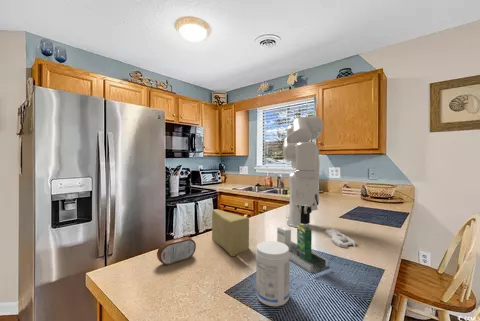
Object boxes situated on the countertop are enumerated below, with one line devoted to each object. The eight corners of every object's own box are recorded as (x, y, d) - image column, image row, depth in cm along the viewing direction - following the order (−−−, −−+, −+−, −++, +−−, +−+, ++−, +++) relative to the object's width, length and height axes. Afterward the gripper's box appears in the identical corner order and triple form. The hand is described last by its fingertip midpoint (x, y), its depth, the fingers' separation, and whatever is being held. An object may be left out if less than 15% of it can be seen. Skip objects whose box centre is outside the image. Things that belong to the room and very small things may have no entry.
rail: (309, 275, 75) (309, 265, 75) (270, 251, 94) (270, 243, 94) (328, 268, 80) (328, 259, 80) (287, 246, 99) (288, 238, 99)
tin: (193, 254, 91) (193, 234, 90) (197, 257, 88) (197, 236, 88) (156, 265, 81) (156, 242, 81) (159, 268, 79) (159, 245, 79)
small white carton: (277, 247, 95) (277, 227, 95) (282, 246, 97) (283, 226, 97) (284, 252, 91) (284, 230, 91) (290, 250, 92) (290, 229, 92)
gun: (319, 228, 115) (336, 227, 117) (319, 234, 115) (336, 233, 117) (342, 243, 97) (361, 242, 99) (341, 251, 97) (361, 249, 99)
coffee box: (296, 255, 88) (296, 223, 87) (303, 255, 88) (303, 222, 88) (304, 265, 80) (304, 229, 79) (311, 265, 80) (312, 229, 80)
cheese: (204, 240, 105) (204, 209, 105) (221, 236, 111) (221, 207, 111) (231, 257, 88) (231, 220, 87) (249, 251, 94) (250, 216, 93)
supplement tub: (276, 284, 70) (277, 238, 69) (296, 302, 61) (297, 250, 61) (249, 292, 65) (250, 243, 65) (267, 312, 57) (267, 256, 57)
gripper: (284, 173, 87) (284, 219, 88) (314, 176, 74) (313, 230, 74) (298, 173, 91) (298, 217, 91) (329, 176, 78) (328, 227, 78)
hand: (305, 223), depth 83 cm, fingers closed
